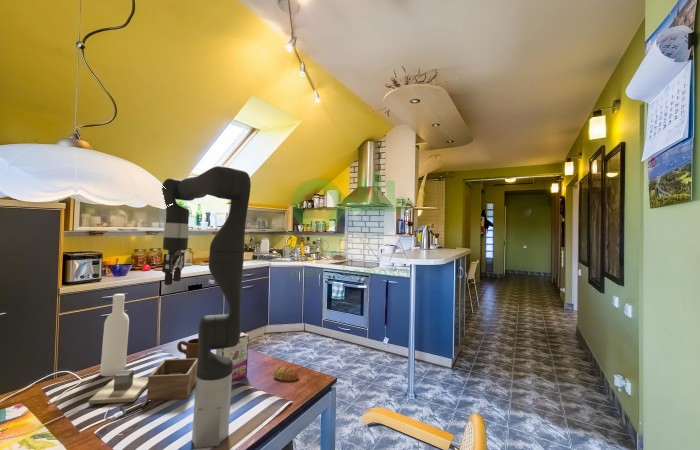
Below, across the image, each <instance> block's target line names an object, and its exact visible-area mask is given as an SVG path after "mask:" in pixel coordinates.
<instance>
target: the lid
mask: <svg viewBox="0 0 700 450" xmlns="http://www.w3.org/2000/svg"><path fill="white" fill-rule="evenodd" d="M134 372H135V371H134V369H125V370H121V371H120V372H118V373H117V374H116V375H114V378H112V380H111V381H108V383H107V384H106V385H105V386H103V387H102V388H101V389H100V390H99V391H98V392H96V393H95V394H94V395H93V396H92V397H90V399H88V405H94V404H95V405H96V404H111V403H114V404H115V403H128V402H129V403H130V402H131V403H132V402H134V401H136V399H137V398H138V397H139V396H140V395H141V394H142V393H143V391H144V390H145V389H146V388H148V377H149V376H145V377H142V376H141V377H134Z"/></svg>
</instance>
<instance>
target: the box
mask: <svg viewBox="0 0 700 450" xmlns="http://www.w3.org/2000/svg"><path fill="white" fill-rule="evenodd" d="M197 363H198V358H192V359H186V358H172V359H171V358H165V359H163V360H162V362H161V363H159V365H158V366H157V367H156V368H155V369H154V370H153V371H152V372H151V373H150V374H149V375H148V376H147V377H148V386H147V391H146V402H150V401H149V400H154V401H153V402H160V401H161V400H162V401H174V400H175V399H179V400H187V399H188V397H189V396H190V394H191V392H192V390H193V389H192V388H194V387H195V386H196V384H195V383H196V374H197ZM189 393H190V394H189ZM188 395H189V396H188ZM175 401H176V400H175Z"/></svg>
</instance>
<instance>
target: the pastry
mask: <svg viewBox="0 0 700 450" xmlns="http://www.w3.org/2000/svg"><path fill="white" fill-rule="evenodd" d="M298 376H299V373H298V372H297V371H296V370H294V369H293V368H290V367H288V366H281V365H278V366H277V367H276V368H275V370H274V372H273V377H274V378H275V380H279V381H285V382H286V381H287V382H290V381H292V382H293V381H295V380H297V379H298V378H299V377H298Z"/></svg>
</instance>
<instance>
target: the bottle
mask: <svg viewBox="0 0 700 450" xmlns="http://www.w3.org/2000/svg"><path fill="white" fill-rule="evenodd" d="M112 296H113V297H112V308H111V309H112V311H111V313H109V314H108V315H107V317H106V319H105V321H104V323H103V334H102V336H103V337H102V347H101V360H100V366H99V372H100V373H99V375H100V376H102V377H113V376H114V377H115V375H116V374H117V373H118V372H120V371H121V370H126V366H127V352H128V342H129V339H128V338H129V328H130V318H129V315H128V314H127V313H126V312H124V311H125V300H126V295H125V293H114V294H113V295H112Z"/></svg>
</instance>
